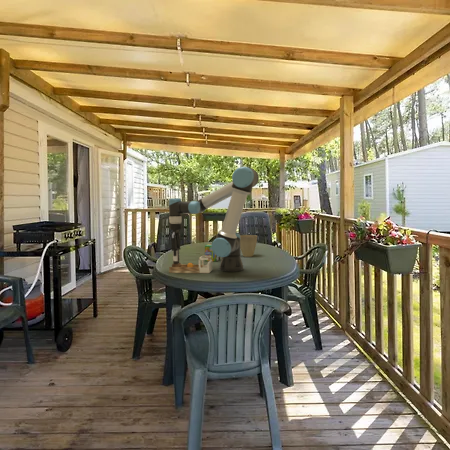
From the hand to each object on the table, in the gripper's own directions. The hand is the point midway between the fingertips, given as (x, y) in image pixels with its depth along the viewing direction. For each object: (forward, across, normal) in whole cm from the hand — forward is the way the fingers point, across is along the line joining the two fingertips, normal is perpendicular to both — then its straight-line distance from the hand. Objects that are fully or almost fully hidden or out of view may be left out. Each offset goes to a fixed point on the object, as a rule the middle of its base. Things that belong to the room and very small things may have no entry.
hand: (176, 260), depth 223 cm
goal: (+7, 0, +18) cm, 20 cm away
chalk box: (+7, -39, +16) cm, 43 cm away
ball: (+3, 0, +9) cm, 10 cm away
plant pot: (+7, -60, +40) cm, 72 cm away
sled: (+5, 0, 0) cm, 5 cm away
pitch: (+7, 0, +6) cm, 9 cm away
